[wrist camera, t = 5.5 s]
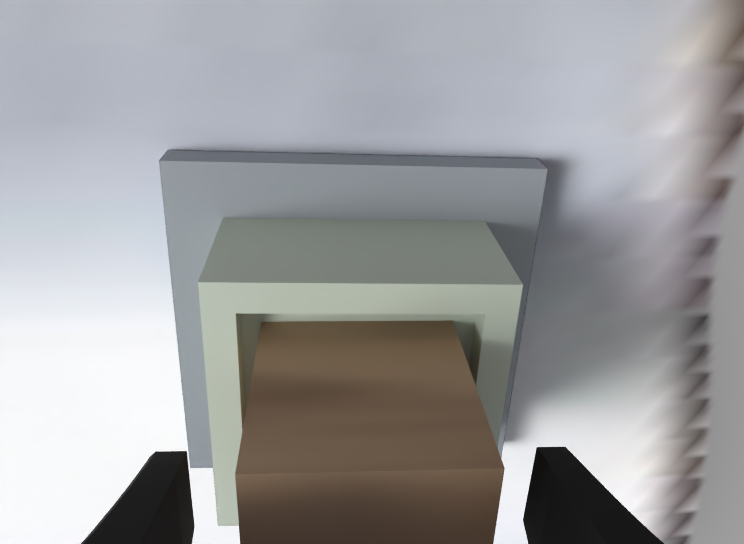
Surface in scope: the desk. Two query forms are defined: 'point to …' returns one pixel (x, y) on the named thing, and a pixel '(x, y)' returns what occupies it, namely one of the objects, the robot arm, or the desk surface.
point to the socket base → (340, 267)
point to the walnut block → (365, 438)
